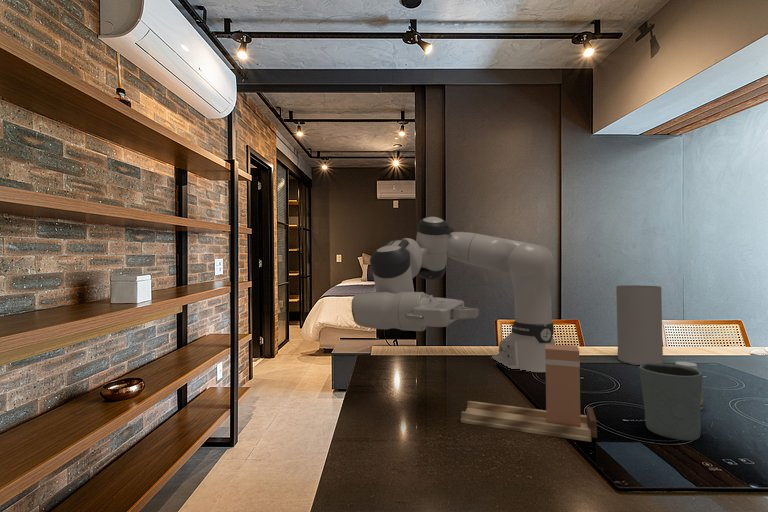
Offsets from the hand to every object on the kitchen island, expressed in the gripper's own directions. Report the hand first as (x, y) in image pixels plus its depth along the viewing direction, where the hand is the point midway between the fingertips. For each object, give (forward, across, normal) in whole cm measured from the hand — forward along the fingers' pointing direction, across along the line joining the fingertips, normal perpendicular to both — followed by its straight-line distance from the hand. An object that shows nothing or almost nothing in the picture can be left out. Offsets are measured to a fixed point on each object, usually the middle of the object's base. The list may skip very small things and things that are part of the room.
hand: (477, 313), depth 85 cm
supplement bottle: (+43, +23, +23) cm, 54 cm away
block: (+16, 0, +21) cm, 27 cm away
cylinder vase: (+42, +66, +23) cm, 82 cm away
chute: (+9, 0, +22) cm, 24 cm away
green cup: (+36, +6, +23) cm, 43 cm away
